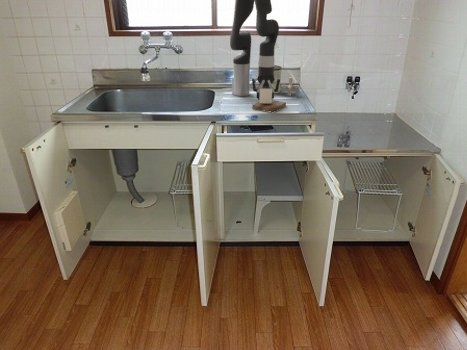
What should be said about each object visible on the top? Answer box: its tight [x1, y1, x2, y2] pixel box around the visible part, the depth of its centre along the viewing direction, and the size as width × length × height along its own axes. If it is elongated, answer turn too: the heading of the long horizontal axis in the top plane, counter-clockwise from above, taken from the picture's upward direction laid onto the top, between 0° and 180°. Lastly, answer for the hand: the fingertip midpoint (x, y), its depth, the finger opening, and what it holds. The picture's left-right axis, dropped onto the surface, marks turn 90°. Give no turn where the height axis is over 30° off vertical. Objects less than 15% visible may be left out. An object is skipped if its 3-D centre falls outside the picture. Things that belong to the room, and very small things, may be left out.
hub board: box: [251, 99, 287, 113], centre depth 175 cm, size 12×13×2 cm
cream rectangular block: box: [258, 86, 272, 103], centre depth 172 cm, size 6×6×8 cm
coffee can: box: [272, 64, 282, 95], centre depth 200 cm, size 10×10×14 cm
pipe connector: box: [280, 76, 300, 97], centre depth 193 cm, size 10×10×10 cm
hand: (265, 99), depth 174 cm, fingers closed on cream rectangular block, 6 cm apart
